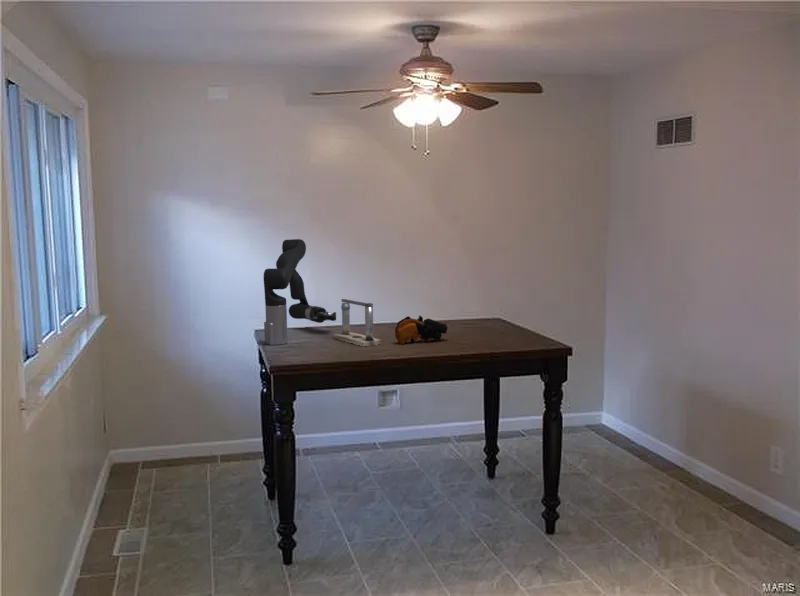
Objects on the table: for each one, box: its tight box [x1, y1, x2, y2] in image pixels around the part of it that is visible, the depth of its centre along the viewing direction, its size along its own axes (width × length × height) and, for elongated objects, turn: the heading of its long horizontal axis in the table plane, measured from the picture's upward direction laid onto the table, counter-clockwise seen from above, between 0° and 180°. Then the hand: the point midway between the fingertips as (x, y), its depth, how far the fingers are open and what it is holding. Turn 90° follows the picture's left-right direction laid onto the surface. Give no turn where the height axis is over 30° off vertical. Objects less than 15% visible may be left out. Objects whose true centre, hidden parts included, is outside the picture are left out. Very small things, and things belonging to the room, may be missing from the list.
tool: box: [394, 314, 449, 345], centre depth 340 cm, size 8×23×15 cm, turn 109°
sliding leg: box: [341, 302, 351, 334], centre depth 349 cm, size 4×4×14 cm
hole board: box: [333, 331, 384, 348], centre depth 342 cm, size 10×25×2 cm, turn 36°
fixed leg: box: [341, 298, 374, 341], centre depth 341 cm, size 3×23×16 cm, turn 36°
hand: (334, 318), depth 357 cm, fingers closed
